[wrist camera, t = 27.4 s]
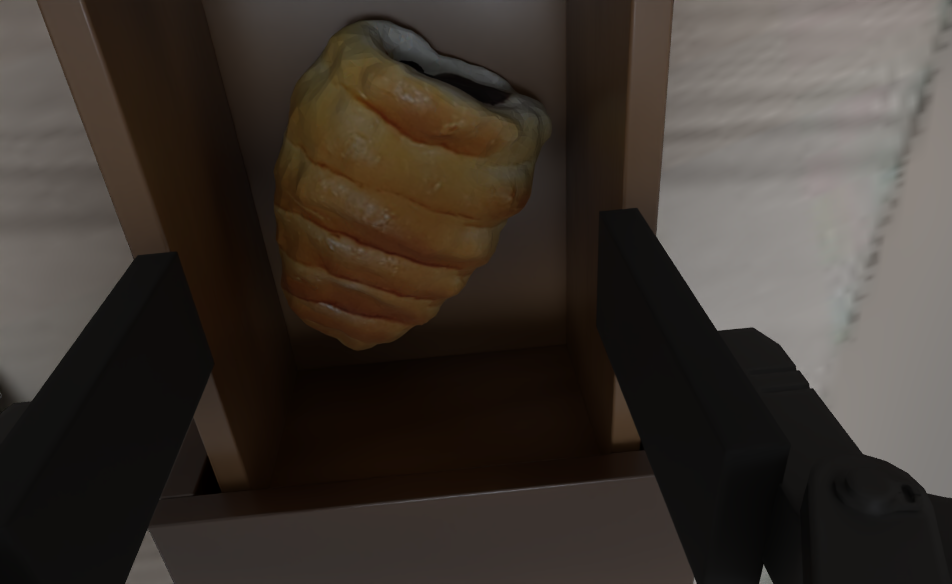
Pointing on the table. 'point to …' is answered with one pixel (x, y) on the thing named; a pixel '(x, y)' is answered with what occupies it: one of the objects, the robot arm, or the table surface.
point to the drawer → (257, 252)
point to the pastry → (395, 181)
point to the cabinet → (424, 526)
